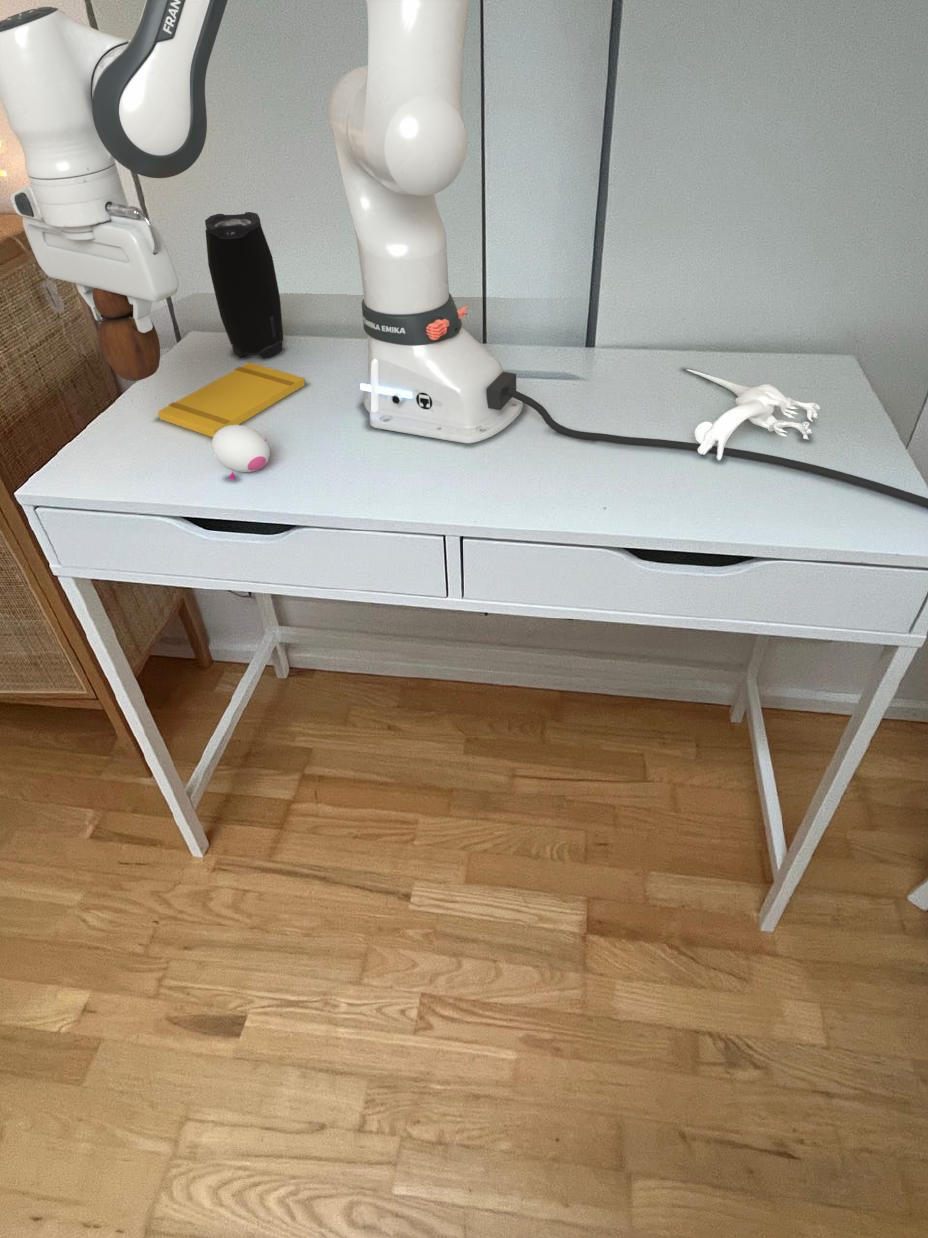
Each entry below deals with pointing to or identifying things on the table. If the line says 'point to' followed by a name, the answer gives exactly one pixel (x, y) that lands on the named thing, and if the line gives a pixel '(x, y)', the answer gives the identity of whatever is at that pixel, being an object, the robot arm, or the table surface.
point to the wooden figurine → (125, 338)
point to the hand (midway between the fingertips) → (124, 325)
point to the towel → (231, 399)
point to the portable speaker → (245, 283)
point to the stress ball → (240, 448)
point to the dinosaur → (750, 414)
